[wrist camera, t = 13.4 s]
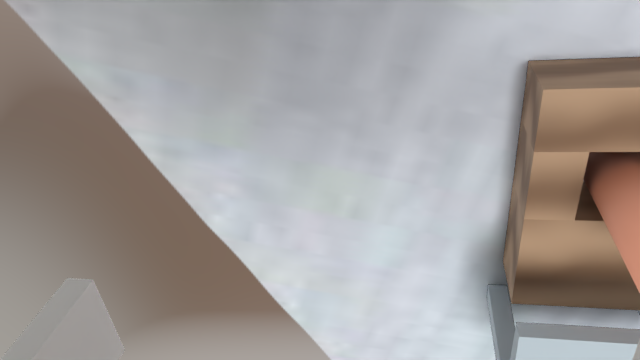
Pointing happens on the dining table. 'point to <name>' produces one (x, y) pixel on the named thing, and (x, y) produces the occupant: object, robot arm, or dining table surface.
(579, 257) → the socket block
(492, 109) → the dining table surface
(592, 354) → the grey-blue stool
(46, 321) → the robot arm
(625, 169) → the dowel
